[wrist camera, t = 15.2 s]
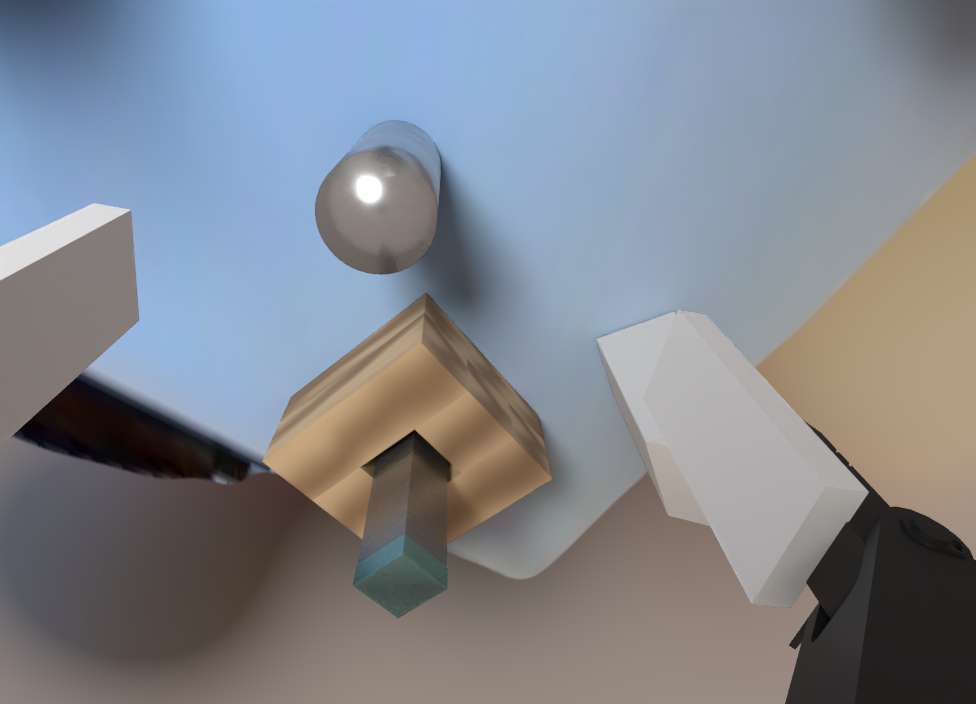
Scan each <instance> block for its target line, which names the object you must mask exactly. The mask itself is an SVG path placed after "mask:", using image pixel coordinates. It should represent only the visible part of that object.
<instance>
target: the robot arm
mask: <svg viewBox="0 0 976 704" xmlns="http://www.w3.org/2000/svg"><path fill="white" fill-rule="evenodd" d="M138 321H139V311H138V297H137V284H136V270H135V257H134V243H133V230H132V216H131V210H128V209H123V208H117V207H112V206H106V205H101V204H95V203H93V204H91V205H89V206H87V207H85V208H83V209H80V210H78V211H76V212H74V213H72V214H70V215H68V216H65V217H63V218H61V219H59V220H57V221H55V222H52V223H50V224H48V225H46V226H44V227H42V228H39V229H37V230H35V231H33V232H31V233H29V234H27V235H24V236H22V237H20V238H18V239H16V240H14V241H11V242H9V243H7V244H5V245H3V246H1V247H0V446H1V445H2V444H3V443H4V442H5V441H7V440H8V439H9V438H10V437H11V436H12V435H13V434H14V433H15V432H16V431H18V430H19V429H20V428H21V427H22V426H23V425H24V424H25V423H26V422H28V421H29V420H30V419H31V418H32V417H33V416H34V415H35V414H36V413H37V412H39V411H40V410H41V409H42V408H43V407H44V406H45V405H46V404H47V403H48V402H50V401H51V400H52V399H53V398H54V397H55V396H56V395H57V394H58V393H60V392H61V391H62V390H63V389H64V388H65V387H66V386H67V385H68V384H69V383H71V382H72V381H73V380H74V379H75V378H76V377H77V376H78V375H79V374H80V373H82V372H83V371H84V370H85V369H86V368H87V367H88V366H89V365H90V364H92V363H93V362H94V361H95V360H96V359H97V358H98V357H99V356H100V355H101V354H103V353H104V352H105V351H106V350H107V349H108V348H109V347H110V346H111V345H112V344H114V343H115V342H116V341H117V340H118V339H119V338H120V337H121V336H122V335H124V334H125V333H126V332H127V331H128V330H129V329H130V328H131V327H132V326H133V325H135V324H136V323H137V322H138ZM643 400H644V402H645V404H646V406H647V408H648V410H649V411H650V413H651V415H652V417H653V419H654V421H655V423H656V425H657V427H658V428H659V430H660V432H661V434H662V436H663V438H664V440H665V442H666V444H667V445H668V447H669V449H670V451H671V453H672V455H673V457H674V459H675V461H676V462H677V464H678V466H679V468H680V470H681V472H682V474H683V476H684V478H685V479H686V481H687V483H688V485H689V487H690V489H691V491H692V493H693V495H694V496H695V498H696V500H697V502H698V504H699V506H700V508H701V510H702V512H703V513H704V515H705V517H706V519H707V521H708V523H709V525H710V527H711V529H712V530H713V532H714V534H715V536H716V538H717V540H718V542H719V544H720V545H721V547H722V549H723V551H724V553H725V555H726V557H727V559H728V560H729V563H730V564H731V566H732V568H733V570H734V572H735V574H736V576H737V578H738V579H739V581H740V583H741V585H742V587H743V589H744V591H745V592H746V595H747V597H748V598H749V600H750V602H751V604H754V605H764V606H773V607H783V608H791V607H792V605H793V604H794V602H795V600H796V599H797V598H798V596H799V595H800V593H801V592H802V591H803V589H804V588H805V586H806V585H807V584H808V586H809V587H810V589H811V590H812V592H813V594H814V595H815V597H816V598H817V600H818V601H819V603H818V605H817V606H816V607H815V609H814V610H813V612H812V613H811V614H810V616H809V617H808V619H807V620H806V622H805V623H804V624H803V626H802V627H801V629H800V630H799V632H798V633H797V634H796V636H795V637H794V639H793V640H792V641H791V643H790V644H789V646H791V647H792V648H794V649H796V648H797V647H798V646H799V644H800V643H801V647H800V651H799V654H798V658H797V662H796V665H795V669H794V673H793V677H792V680H791V684H790V688H789V691H788V695H787V699H786V703H785V704H976V560H974V559H973V556H972V554H971V552H970V550H969V549H968V548H967V546H966V545H965V544H964V543H963V542H962V541H961V540H960V539H959V538H958V537H957V536H956V535H955V534H953V533H952V532H950V531H949V530H948V529H947V528H946V527H944V526H942V525H941V524H939V523H937V522H936V521H934V520H932V519H931V518H929V517H927V516H925V515H922V514H920V513H917V512H915V511H913V510H910V509H905V508H901V507H890V506H889V505H888V504H887V503H886V502H885V501H884V500H883V499H882V498H881V497H880V495H878V493H877V492H876V491H875V490H874V489H873V488H872V487H871V486H870V485H869V484H868V483H867V482H866V481H865V479H864V478H863V477H862V476H861V475H860V474H859V473H858V472H857V471H856V470H855V469H854V468H853V467H852V466H849V462H848V461H847V460H846V459H845V458H844V457H843V456H842V455H841V454H840V453H838V452H836V448H835V447H834V446H833V445H832V444H831V443H830V442H829V441H828V440H827V439H826V438H825V437H824V436H823V435H822V433H820V432H819V431H818V430H816V429H815V428H813V427H812V426H811V425H809V424H808V423H806V422H805V421H804V420H802V419H801V418H800V416H799V415H798V414H797V413H796V412H795V411H794V410H793V409H792V408H791V407H790V406H789V405H788V403H787V402H786V401H785V400H784V399H783V398H782V397H781V396H780V395H779V394H778V393H777V391H776V390H775V389H774V388H773V387H772V386H771V385H770V384H769V383H768V382H767V380H765V378H764V377H763V376H762V375H761V374H760V373H759V372H758V371H757V370H756V369H755V367H754V366H753V365H752V364H751V363H750V362H749V361H748V360H747V359H746V358H745V357H744V355H743V354H742V353H741V352H740V351H739V350H738V349H737V348H736V347H735V346H734V345H733V343H732V342H731V341H730V340H729V339H728V338H727V337H726V336H725V335H724V334H723V333H722V331H721V330H720V329H719V328H718V327H717V326H716V325H715V324H714V323H713V322H712V321H711V320H710V318H709V317H708V316H707V315H705V314H699V313H694V312H688V311H683V310H678V312H677V315H676V317H675V320H674V322H673V325H672V327H671V330H670V332H669V335H668V337H667V340H666V342H665V345H664V347H663V350H662V352H661V355H660V357H659V360H658V362H657V365H656V367H655V370H654V372H653V375H652V377H651V380H650V382H649V385H648V387H647V390H646V392H645V395H644V397H643Z"/></svg>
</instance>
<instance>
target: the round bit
mask: <svg viewBox="0 0 976 704" xmlns="http://www.w3.org/2000/svg"><path fill="white" fill-rule="evenodd" d="M440 177H441V160H440V156H439V152H438V150H437V147H436V145H435V144H434V142H433V141H432V139H431V138H430V137H429V136H428V134H427V133H425V132H424V131H423V130H422V129H420V128H419V127H417V126H416V125H414V124H411V123H408V122H405V121H399V120H392V121H385V122H382V123H379V124H377V125H375V126H373V127H372V128H371V129H369V130H368V131H367V132H366V133H365V134H364V135H363V136H362V137H361V138H360V140H359V141H358V142H357V143H356V144H355V145H354V146H353V147H352V148H351V150H350V151H349V152H348V153H347V154H346V155H345V156H344V157H343V158H342V159H341V161H340V162H339V163H338V164H337V165H336V166H335V167H334V168H333V169H332V171H331V172H330V173H329V174H328V175H327V176H326V178H325V179H324V181H323V182H322V184H321V186H320V188H319V191H318V194H317V198H316V203H315V216H316V223H317V227H318V230H319V233H320V235H321V237H322V239H323V241H324V243H325V244H326V246H327V247H328V248H329V250H330V251H331V252H332V253H333V254H334V255H335V256H336V257H337V258H338V259H339V260H341V261H342V262H344V263H345V264H347V265H348V266H350V267H352V268H354V269H357V270H359V271H362V272H366V273H371V274H391V273H395V272H399V271H402V270H404V269H406V268H408V267H410V266H412V265H413V264H415V263H416V262H417V261H418V260H419V259H421V258H422V257H423V255H424V254H425V253H426V252H427V250H428V249H429V247H430V245H431V243H432V241H433V239H434V235H435V232H436V226H437V215H438V202H439V190H440Z"/></svg>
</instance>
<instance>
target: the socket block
mask: <svg viewBox="0 0 976 704" xmlns="http://www.w3.org/2000/svg"><path fill="white" fill-rule="evenodd" d="M414 429H415V430H416V431H417V432H418V433H419V434H420V435H421V436H422V437H423V438H424V439H425V440H426V441H428V442H429V443H430V444H431V445H432V446H433V447H434V448H435V449H436V450H437V451H438V452H439V453H440V454H441V455H443V456H444V457H445V458H446V459H447V544H448V543H450V542H451V541H453V540H455V539H456V538H458V537H459V536H461V535H463V534H464V533H466V532H468V531H469V530H471V529H472V528H474V527H476V526H477V525H479V524H480V523H482V522H484V521H485V520H487V519H489V518H490V517H492V516H493V515H495V514H497V513H498V512H500V511H501V510H503V509H505V508H506V507H508V506H510V505H511V504H513V503H514V502H516V501H518V500H519V499H521V498H522V497H524V496H526V495H527V494H529V493H531V492H532V491H534V490H535V489H537V488H539V487H540V486H542V485H544V484H545V483H547V482H548V481H550V480H552V479H553V478H552V474H551V470H550V465H549V461H548V457H547V452H546V448H545V443H544V439H543V435H542V430H541V426H540V422H539V417H538V414H537V413H536V412H535V411H534V410H533V409H532V408H531V407H530V406H529V405H528V403H527V402H526V401H525V400H524V399H523V398H522V397H521V396H520V395H519V394H518V393H517V391H516V390H515V389H514V388H513V387H512V386H511V385H510V384H509V383H508V382H507V380H506V379H505V378H504V377H503V376H502V375H501V374H500V373H499V372H498V371H497V370H496V368H495V367H494V366H493V365H492V364H491V363H490V362H489V361H488V360H487V359H486V358H485V356H484V355H483V354H482V353H481V352H480V351H479V350H478V349H477V348H476V347H475V345H474V344H473V343H472V342H471V341H470V340H469V339H468V338H467V337H466V336H465V335H464V333H463V332H462V331H461V330H460V329H459V328H458V327H457V326H456V325H455V324H454V323H453V321H452V320H451V319H450V318H449V317H448V316H447V315H446V314H445V313H444V312H443V310H442V309H441V308H440V307H439V306H438V305H437V304H436V303H435V302H434V301H433V300H432V298H431V297H430V296H429V295H428V294H427V293H425V294H424V295H423V296H421V297H420V298H419V299H418V300H416V301H415V302H414V303H412V304H411V305H410V306H408V307H407V308H406V309H405V310H403V311H402V312H401V313H399V314H398V315H397V316H396V317H394V318H393V319H392V320H390V321H389V322H388V323H386V324H385V325H384V326H383V327H381V328H380V329H379V330H377V331H376V332H375V333H373V334H372V335H371V336H370V337H368V338H367V339H366V340H364V341H363V342H362V343H361V344H359V345H358V346H357V347H355V348H354V349H353V350H351V351H350V352H349V353H348V354H346V355H345V356H344V357H342V358H341V359H340V360H338V361H337V362H336V363H335V364H333V365H332V366H331V367H329V368H328V369H327V370H326V371H324V372H323V373H322V374H320V375H319V376H318V377H316V378H315V379H314V380H313V381H311V382H310V383H309V384H307V385H306V386H305V387H303V388H302V389H301V390H300V391H298V392H297V393H296V394H294V395H293V396H292V397H291V398H290V400H289V403H288V405H287V407H286V409H285V412H284V414H283V416H282V418H281V421H280V423H279V425H278V427H277V430H276V432H275V434H274V436H273V439H272V441H271V443H270V445H269V448H268V450H267V452H266V454H265V457H264V459H263V461H262V462H264V463H265V464H266V465H268V466H269V467H270V468H271V469H273V470H274V471H275V472H277V473H278V474H279V475H280V476H282V477H283V478H284V479H286V480H287V481H288V482H289V483H291V484H292V485H293V486H295V487H296V488H297V489H298V490H300V491H301V492H302V493H304V494H305V495H306V496H307V497H309V498H310V499H311V500H313V501H314V502H315V503H316V504H318V505H319V506H320V507H322V508H323V509H324V510H325V511H327V512H328V513H329V514H331V515H332V516H333V517H334V518H336V519H337V520H338V521H340V522H341V523H342V524H343V525H345V526H346V527H347V528H349V529H350V530H351V531H353V532H354V533H355V534H356V535H358V536H359V537H360V538H361V539H362V538H363V532H364V526H365V521H366V515H367V510H368V504H369V498H370V493H371V487H372V481H373V476H374V470H375V465H376V459H377V455H379V454H380V453H381V452H383V451H384V450H386V449H387V448H389V447H390V446H391V445H393V444H394V443H396V442H397V441H399V440H400V439H401V438H403V437H404V436H406V435H407V434H409V433H410V432H411V431H413V430H414Z"/></svg>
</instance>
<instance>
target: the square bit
mask: <svg viewBox="0 0 976 704" xmlns="http://www.w3.org/2000/svg"><path fill="white" fill-rule="evenodd" d="M446 554H447V459H446V458H445V457H444V456H443V455H441V454H440V453H439V452H438V451H437V450H436V449H435V448H434V447H433V446H432V445H431V444H430V443H429V442H428V441H426V440H425V439H424V438H423V437H422V436H421V435H420V434H419V433H418V432H417V431H416V430H415V429H414V430H413V431H411V432H410V433H409V434H407V435H406V436H404V437H403V438H401V439H400V440H399V441H397V442H396V443H394V444H393V445H391V446H390V447H389V448H387V449H386V450H384V451H383V452H381V453H380V454H379V455H377V459H376V465H375V470H374V476H373V481H372V487H371V493H370V498H369V504H368V510H367V515H366V521H365V526H364V532H363V538H362V544H361V549H360V555H359V560H358V564H357V565H356V571H355V576H354V582H353V586H354V587H355V588H357V589H358V590H359V591H361V592H362V593H364V594H365V595H366V596H368V597H369V598H371V599H372V600H373V601H375V602H376V603H378V604H379V605H380V606H382V607H383V608H385V609H386V610H387V611H389V612H390V613H392V614H393V615H394V616H396V617H397V618H400V617H401V616H403V615H405V614H407V613H408V612H410V611H412V610H413V609H415V608H416V607H418V606H420V605H422V604H423V603H425V602H427V601H428V600H430V599H432V598H433V597H435V596H437V595H438V594H440V593H442V592H443V591H445V590H447V576H448V574H447V571H448V570H447V568H446V565H447V563H446V562H447V559H446V558H447V555H446Z"/></svg>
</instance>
